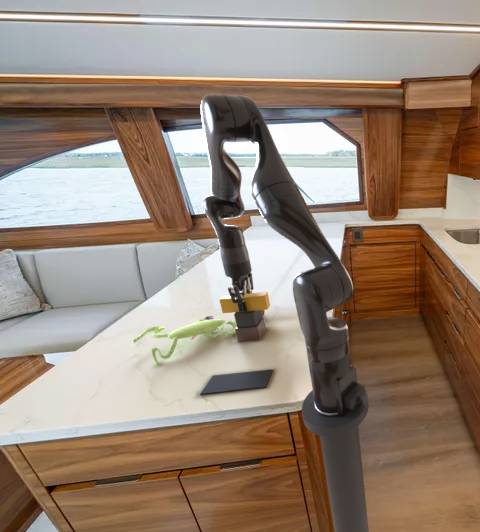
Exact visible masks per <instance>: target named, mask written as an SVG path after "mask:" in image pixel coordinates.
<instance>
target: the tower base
mask: <svg viewBox="0 0 480 532" xmlns="http://www.w3.org/2000/svg"><path fill="white" fill-rule="evenodd" d="M265 321H266V320H265V317H264V316H263V317H262V318H261V320H260V321H259V323H258V324H257V326H253V327H242V328H237V327H236V328H235V331H236V333H235V334H236V339H237V342H238V343H243V342H252V341H253V342H254V341H261V339H263V338H262V337H263V336H264V335H265V332H266V331H267V325H266V322H265Z"/></svg>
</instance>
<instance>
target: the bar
mask: <svg viewBox="0 0 480 532" xmlns="http://www.w3.org/2000/svg"><path fill="white" fill-rule="evenodd" d="M241 297H242V295H241ZM218 300H219V304H220V308H221V312H222V314H230V313H236V312H239V308H238V304H237V303H233V302H232V299H231V296H230V294H224V295H222V296H221V297H219V299H218ZM245 302H246V307H247V311H256V310H265V311H266V310H269V308H270V307H271V303H270V297H269V293H268V291H263V292H252V293H248V294H245Z"/></svg>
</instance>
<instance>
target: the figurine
mask: <svg viewBox="0 0 480 532" xmlns="http://www.w3.org/2000/svg"><path fill="white" fill-rule="evenodd" d="M225 321H226V320H224V319H222V318H214V315H209V316H205V317H203V318H201V319H198V320H197V321H195V322H193V323H189V324H186V325H184V326H182V327H179V328H177V329H174V330H173V331H171V332H169V333H161V332H163V331H164V330H165V326H162V325H159V326H158V325H157V326H153V327H150V328H147V329H145V330H144V331H143V332H142V333H141V334H139V335H138V336H136V337H135V338H134V339H132V340H131V341H132V344H136V343H137V342H139V341H140V340H142V339H143V338H144V337H145V336H147V334H149V333H151V337H153V339H165V338H168V339H169V340H172V342H171V345H170V347H169V350H168V352H167V354H165V355H164V354H163V353H162V352H161V350H160V348H158V347H157V346H155V347H154V346H153V348H151V355H152V358H153V359H154V361H155V363H156V365H157V366H160V362H159V360H158V358H157V355H156V351H158V353H159V356H160V358H161V359H163V360H168V359H170V358H171V356H172V355H173V353H174V352H175V349H176V347H177V345H178V341H179V340H181V339H188V338H190V340H192V341H193V340H194V339H196V337H198V336H200V335H203V334H205V335H206V337H208V338H212V339H214V338H216V337H218V336H219V335H220V334H221V333H222V331H223V330H224V329H225V326H226V325H231V326H232V331H231V332H226V331H224V332H223V335H224V336H227V337H230V336H233V335H235V334H236V331H235V328H236V327H237V325H236V322H234V321H232V320H229V321H226V322H225ZM221 326H222V327H221ZM220 327H221V329H220V330H219V328H220ZM211 332H214V333H216V334H212V333H211Z"/></svg>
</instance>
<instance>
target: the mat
mask: <svg viewBox="0 0 480 532" xmlns="http://www.w3.org/2000/svg"><path fill="white" fill-rule="evenodd" d="M273 372H274V369H273V368H271V369H261V370H253V371H241V372H231V373H224V374H213V375H212V376H211V377H210V379H209V381H208V382H207V383H206V385H205V386H204V388H203V389H202V390H201V392H200V393H199V394H200V396H203V395H213V394H220V393H221V394H222V393H230V392H239V391H247V390H248V391H250V390H257V389H265V388H267V386H268V383H269V381H270V379H271V376H272V374H273Z"/></svg>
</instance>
